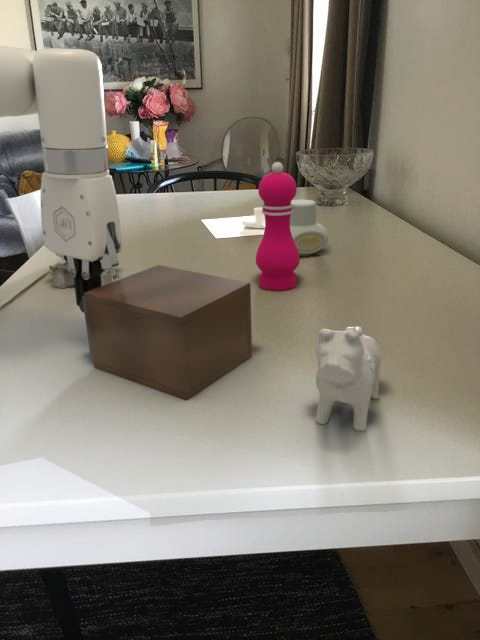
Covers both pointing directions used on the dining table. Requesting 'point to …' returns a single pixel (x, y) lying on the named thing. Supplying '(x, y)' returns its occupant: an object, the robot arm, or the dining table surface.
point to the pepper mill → (277, 232)
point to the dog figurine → (347, 372)
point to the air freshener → (306, 228)
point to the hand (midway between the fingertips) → (90, 303)
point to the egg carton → (65, 279)
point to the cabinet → (170, 328)
